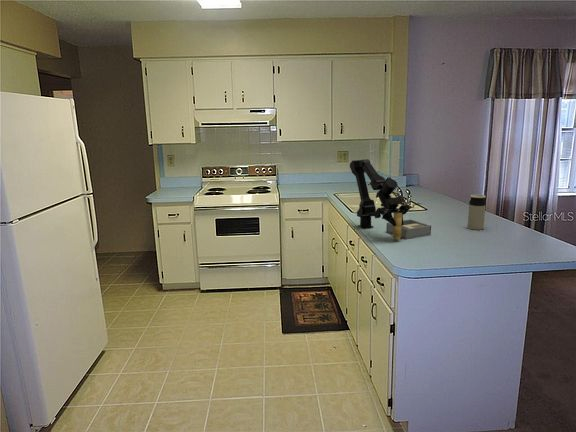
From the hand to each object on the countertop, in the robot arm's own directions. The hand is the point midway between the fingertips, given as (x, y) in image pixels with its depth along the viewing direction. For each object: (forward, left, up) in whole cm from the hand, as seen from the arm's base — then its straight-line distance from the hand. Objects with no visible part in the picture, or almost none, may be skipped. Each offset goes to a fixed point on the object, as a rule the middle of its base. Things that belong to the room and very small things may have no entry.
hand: (399, 225), depth 200 cm
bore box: (-9, +13, -8) cm, 18 cm away
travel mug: (0, +51, -8) cm, 52 cm away
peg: (-1, 0, -7) cm, 7 cm away
